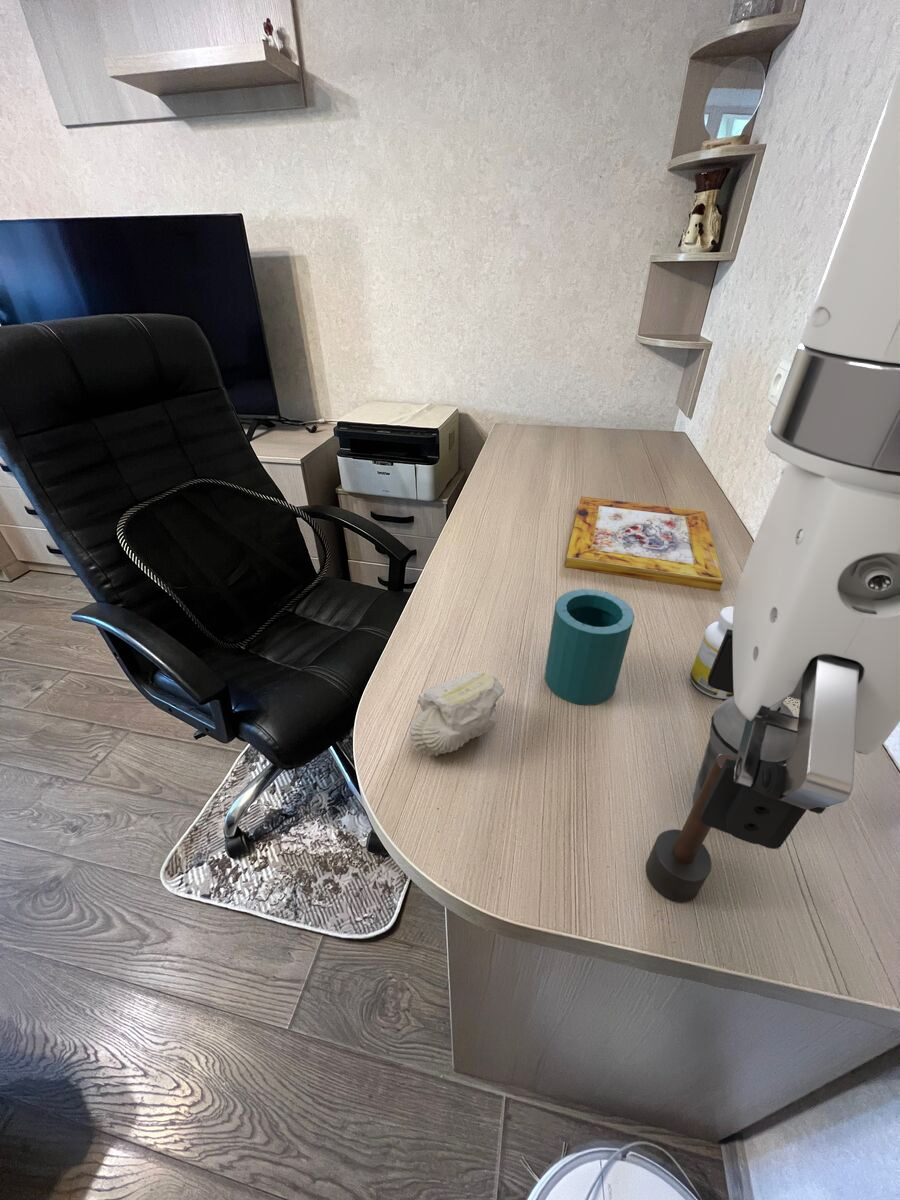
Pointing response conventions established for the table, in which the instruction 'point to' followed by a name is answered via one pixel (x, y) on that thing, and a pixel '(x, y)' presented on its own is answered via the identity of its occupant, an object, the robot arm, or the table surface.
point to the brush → (684, 850)
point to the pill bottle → (711, 654)
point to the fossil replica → (455, 713)
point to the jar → (587, 645)
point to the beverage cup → (729, 734)
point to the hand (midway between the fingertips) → (736, 751)
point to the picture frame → (644, 543)
